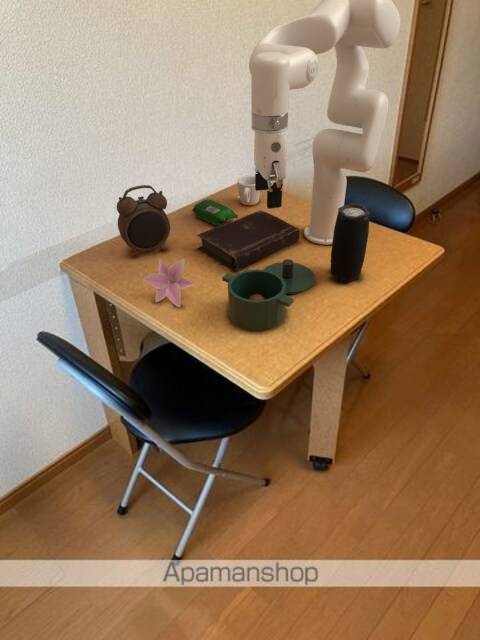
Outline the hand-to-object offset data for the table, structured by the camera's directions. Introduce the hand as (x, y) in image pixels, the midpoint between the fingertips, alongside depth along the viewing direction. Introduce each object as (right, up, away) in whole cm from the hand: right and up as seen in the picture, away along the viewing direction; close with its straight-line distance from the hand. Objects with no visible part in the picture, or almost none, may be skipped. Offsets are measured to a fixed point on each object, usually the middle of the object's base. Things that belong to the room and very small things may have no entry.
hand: (267, 198), depth 113 cm
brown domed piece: (-2, -26, +9) cm, 27 cm away
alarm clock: (-34, -7, +34) cm, 48 cm away
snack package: (-15, +5, +49) cm, 51 cm away
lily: (-24, -22, +16) cm, 36 cm away
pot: (-2, -26, +9) cm, 28 cm away
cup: (-3, +12, +58) cm, 59 cm away
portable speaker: (+22, -16, +22) cm, 35 cm away
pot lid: (+6, -16, +20) cm, 27 cm away
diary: (-4, -6, +36) cm, 36 cm away
